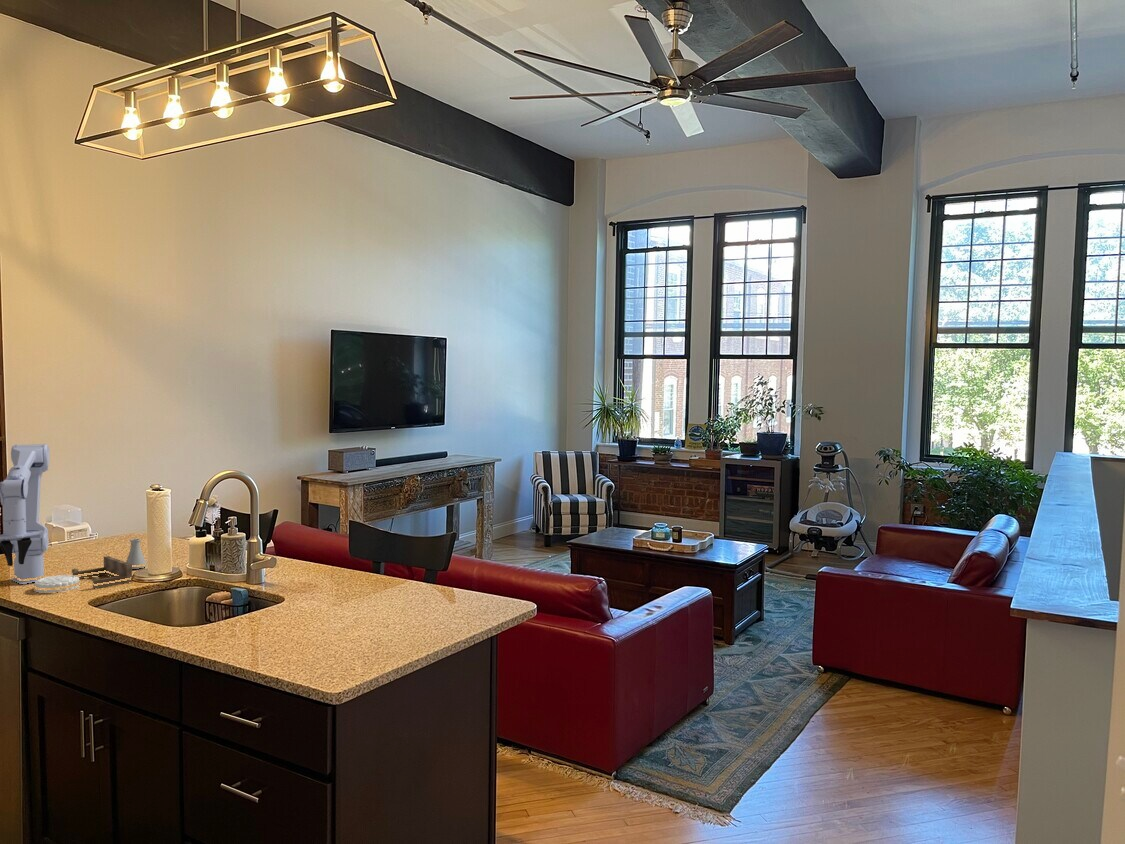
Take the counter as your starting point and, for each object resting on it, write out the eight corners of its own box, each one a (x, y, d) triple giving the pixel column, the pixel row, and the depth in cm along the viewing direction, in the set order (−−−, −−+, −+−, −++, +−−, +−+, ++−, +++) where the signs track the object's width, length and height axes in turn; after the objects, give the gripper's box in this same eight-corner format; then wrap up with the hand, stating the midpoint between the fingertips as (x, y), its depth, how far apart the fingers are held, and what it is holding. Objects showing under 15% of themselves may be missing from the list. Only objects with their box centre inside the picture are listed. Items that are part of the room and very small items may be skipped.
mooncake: (35, 596, 248) (35, 585, 248) (33, 588, 257) (32, 577, 257) (81, 591, 255) (81, 579, 255) (77, 583, 264) (77, 572, 264)
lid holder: (71, 579, 267) (70, 561, 267) (108, 573, 276) (108, 556, 276) (93, 589, 256) (93, 570, 255) (132, 582, 264) (131, 564, 264)
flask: (151, 566, 288) (151, 537, 287) (139, 571, 281) (138, 541, 280) (132, 565, 288) (131, 537, 288) (119, 570, 281) (118, 541, 281)
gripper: (-10, 524, 238) (-9, 570, 239) (46, 518, 249) (47, 562, 250) (-18, 521, 243) (-17, 567, 244) (38, 515, 254) (39, 559, 255)
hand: (15, 564), depth 247 cm, fingers closed
